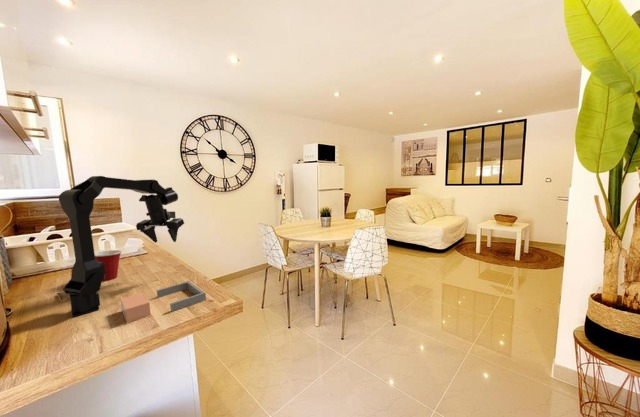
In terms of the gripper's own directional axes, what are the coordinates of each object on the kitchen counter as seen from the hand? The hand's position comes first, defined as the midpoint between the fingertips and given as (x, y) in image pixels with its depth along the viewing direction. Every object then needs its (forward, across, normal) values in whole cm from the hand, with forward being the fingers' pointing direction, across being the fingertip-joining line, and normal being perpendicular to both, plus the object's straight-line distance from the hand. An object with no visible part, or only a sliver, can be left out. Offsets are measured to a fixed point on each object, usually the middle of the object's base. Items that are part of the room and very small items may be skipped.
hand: (165, 241), depth 113 cm
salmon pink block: (+9, -12, +34) cm, 38 cm away
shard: (+10, +23, +24) cm, 35 cm away
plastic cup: (+13, +24, +9) cm, 29 cm away
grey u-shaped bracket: (+11, -20, +24) cm, 33 cm away
